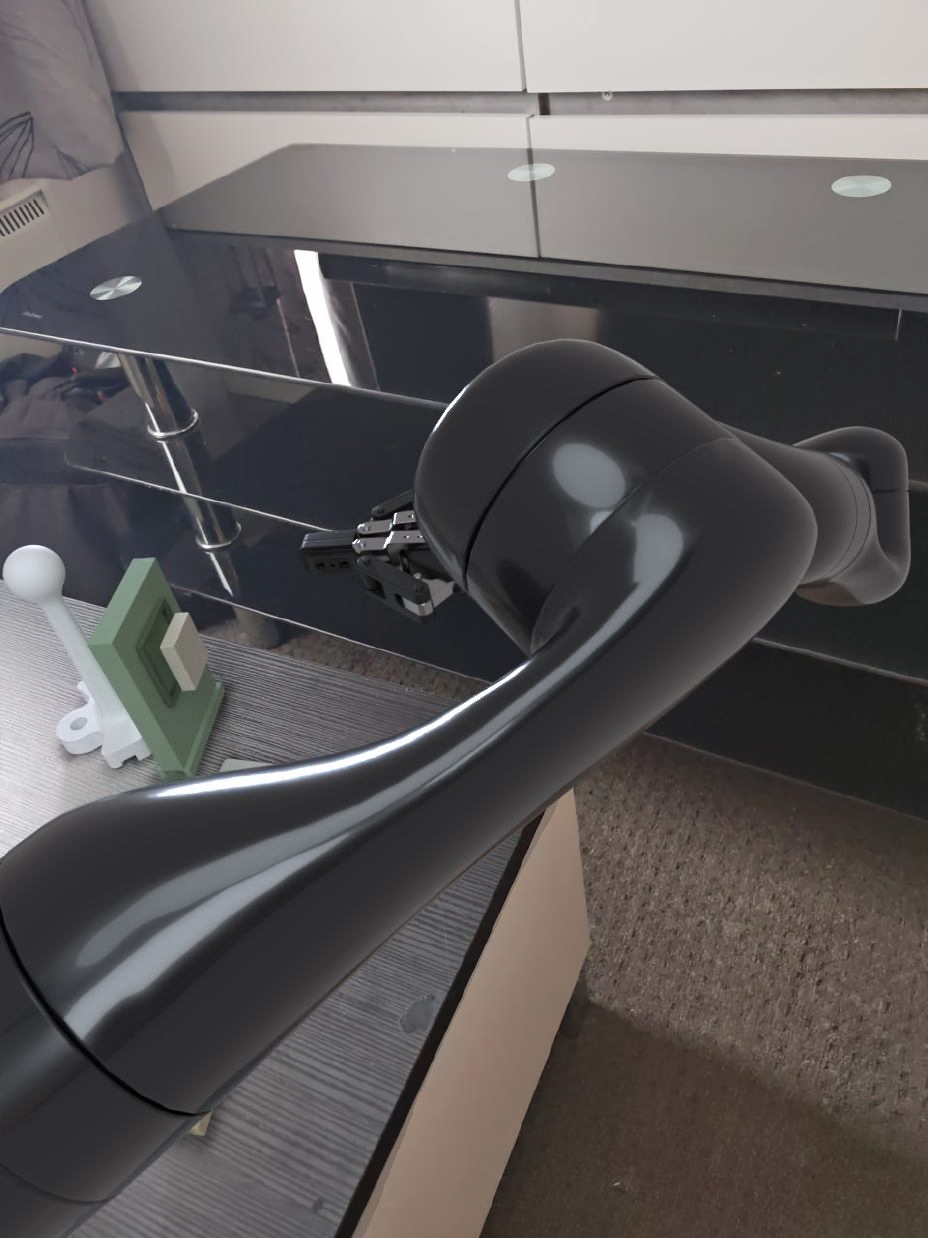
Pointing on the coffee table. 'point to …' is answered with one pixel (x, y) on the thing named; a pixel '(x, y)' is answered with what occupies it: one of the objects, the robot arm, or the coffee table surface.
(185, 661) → the far switch
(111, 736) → the joystick
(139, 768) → the coffee table surface
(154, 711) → the far plate
